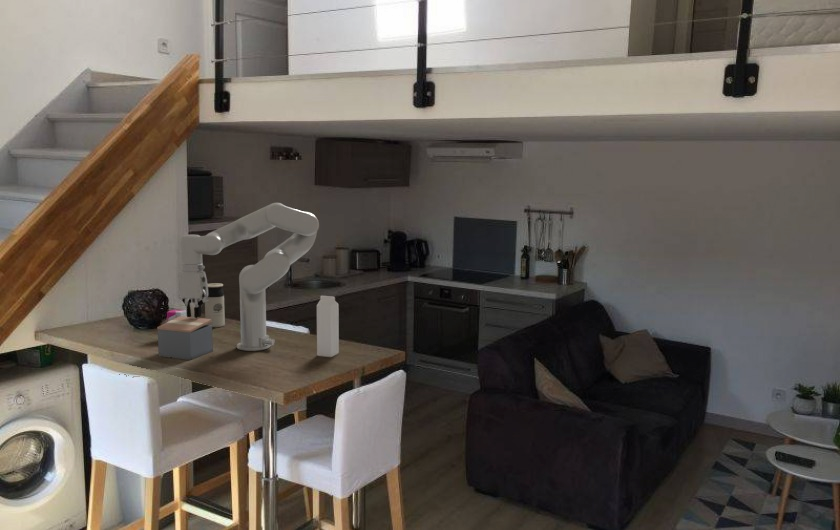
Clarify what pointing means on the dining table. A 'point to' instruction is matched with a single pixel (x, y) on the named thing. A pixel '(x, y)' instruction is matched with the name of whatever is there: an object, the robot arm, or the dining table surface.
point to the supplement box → (175, 314)
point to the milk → (327, 326)
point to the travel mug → (215, 305)
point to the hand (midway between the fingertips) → (194, 316)
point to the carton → (185, 343)
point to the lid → (185, 322)
